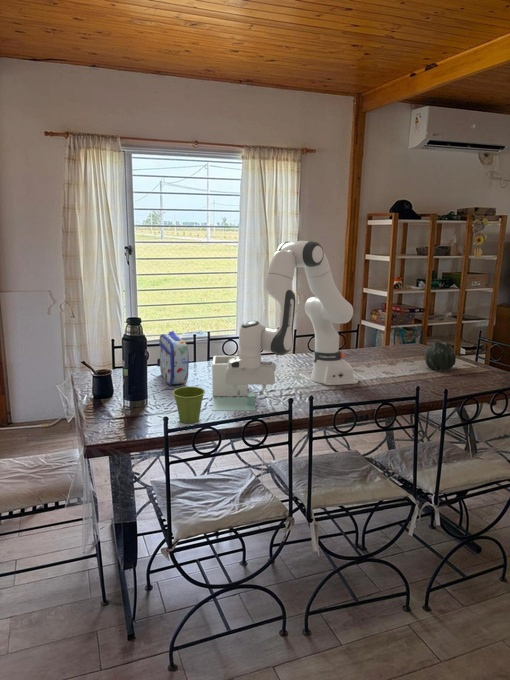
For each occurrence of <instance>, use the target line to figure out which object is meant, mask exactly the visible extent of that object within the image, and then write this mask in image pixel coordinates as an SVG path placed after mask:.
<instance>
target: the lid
mask: <svg viewBox="0 0 510 680" xmlns="http://www.w3.org/2000/svg"><path fill="white" fill-rule="evenodd" d="M212 401H213V402H212V409H211V411H212V412H224V411H225V412H229V411H230V412H231V411H232V412H239V411H241V412H244V411H245V412H246V411H247V412H249V411H251V412H252V411H256V392H255V391H253V392H252V391H248V392H247V396H220V397H213V400H212Z"/></svg>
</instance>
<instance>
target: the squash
mask: <svg viewBox="0 0 510 680" xmlns="http://www.w3.org/2000/svg"><path fill="white" fill-rule="evenodd" d="M424 358H425V359H424V360H425V364H426V366H427V367H428V368H429V369H431V370H434V371H437V372H439V371H441V372H445V371H447V370H451V369H452V368H453V367H454V366H455V365H456V359H457V357H456V354H455V352H454V350H453V349H452V348H451V347H449V346H448V345H447V344H445V343H442V342H440V341H435V342H434V343H433V344H432V345H431V346H430V347H429V349H427V351H426V353H425V356H424ZM438 370H439V371H438Z"/></svg>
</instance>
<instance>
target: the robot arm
mask: <svg viewBox="0 0 510 680" xmlns="http://www.w3.org/2000/svg"><path fill="white" fill-rule="evenodd" d="M296 268H304V271H305V277H306V280H307V285H308V288H309V290H310V292H311V293H312V294H313V295H314V296H310V297H309V298H308V299H307V300H306V301H305V303H304V312H305V314H306V316H308V319H310V322H311V324H312V327H313V331H314V349H313V354H312V355H313V359H312V360H313V366H312V372H311V375H310V380H311V381H312V382H314V383H319V384H323V385H326V386H337V385H353V384H358V383H359V377H358V376H357V375H356V374H355V371H354V368H353V367H352V365H351V364H350V363H349V362H347V361H346V360H345V359H344V358H345V357H346V354H345V353H344V352H343V351H341V350H339V347H340V334H339V332H338V331H337V330H336V328H335V327H334V325H333V324H340V325H341V324H347V323H349V322H350V321H351V320H352V318H353V316H354V309H353V308H354V307H353V306H352V304H351V303H350V302H349V301H348V300H346V299H345V298H344V296H343V295H342V294H341V292H340V290H339V289H338V287H337V285H336V283H335V280H334V278H333V274H332V270H331V269H332V268H331V266H330V262H329V260H328V257H327V255H326V254H325V251H324V249H323V247H322V245H321V244H320V243H319V242H317V241H313V240H310V241H308V240H296V241H285V242H282V243H280V244H279V245H278V247H277V248H276V250H275V252H274V254H273V255H272V258H271V260H270V263H269V265H268V268H267V272H266V275H265V279H264V288H265V291H266V293H267V294H268V295H269V296H270V297H271V298H273V300H275V301H277V302H278V303H279V305H280V318H279V326H278V328H273V327H269V326H265V325H263V324H261V323H260V322H259V321H257V320H247V321H244V322H242V323H241V325H240V327H239V334H238V345H239V353H238V355H237V356H238V357H235V358H231V359H229V361H228V367H227V369H226V374H225V383H226V384H227V385H234V388H235V390H236V395H240V390H238V389H237V385H248V386H249V385H251V386H253V385H255V386H256V385H262V388H261V389H259V396H263V395H264V391H265V389H266V388H267V385H274V384H275V383H276V378H275V376H276V375H275V372H276V370H277V365H276V363H275V362H272V361H262V352H261V351H265V352H270V353H273V354H275V355H279V356H284V355H286V354H288V353H289V352H290V351H291V350H292V348H293V347H294V322H295V313H296V295H295V293H294V291H293V282H294V281H293V280H294V276H295V271H296Z"/></svg>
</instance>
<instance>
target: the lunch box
mask: <svg viewBox="0 0 510 680" xmlns="http://www.w3.org/2000/svg"><path fill="white" fill-rule="evenodd" d="M158 341H159V342H158V344H159V358H157V362H156V364H157V367H158V368H159V367H160V368H159V369H160V374H161V376H162V377H163V379H164V381H165V382H166V383H167V384H169V385H181V384H186V383H187V382H188V379H189V367H190V365H189V364H190V359H189V357H190V355H189V349H188V345H187V343H186V341H185V340H183V339H182V337H180V336H179V335H178V334H177V333H175V331H174V330H172V331H168V333H163V334H160V336H159V340H158Z"/></svg>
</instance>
